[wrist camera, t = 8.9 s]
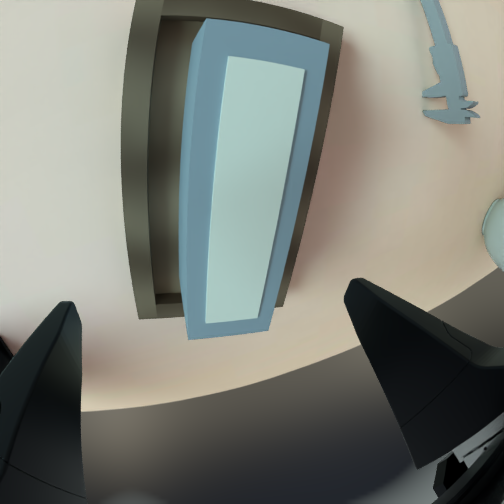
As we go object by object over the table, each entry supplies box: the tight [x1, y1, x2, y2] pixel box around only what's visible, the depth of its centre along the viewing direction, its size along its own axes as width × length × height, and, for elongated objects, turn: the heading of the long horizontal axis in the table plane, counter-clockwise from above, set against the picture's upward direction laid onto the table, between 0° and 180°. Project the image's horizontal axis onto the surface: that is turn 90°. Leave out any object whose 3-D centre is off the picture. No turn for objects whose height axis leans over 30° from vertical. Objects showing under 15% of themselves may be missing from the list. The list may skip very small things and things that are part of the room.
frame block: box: [179, 18, 330, 340], centre depth 14 cm, size 5×16×6 cm, turn 172°
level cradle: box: [121, 0, 344, 319], centre depth 17 cm, size 22×12×2 cm, turn 172°
